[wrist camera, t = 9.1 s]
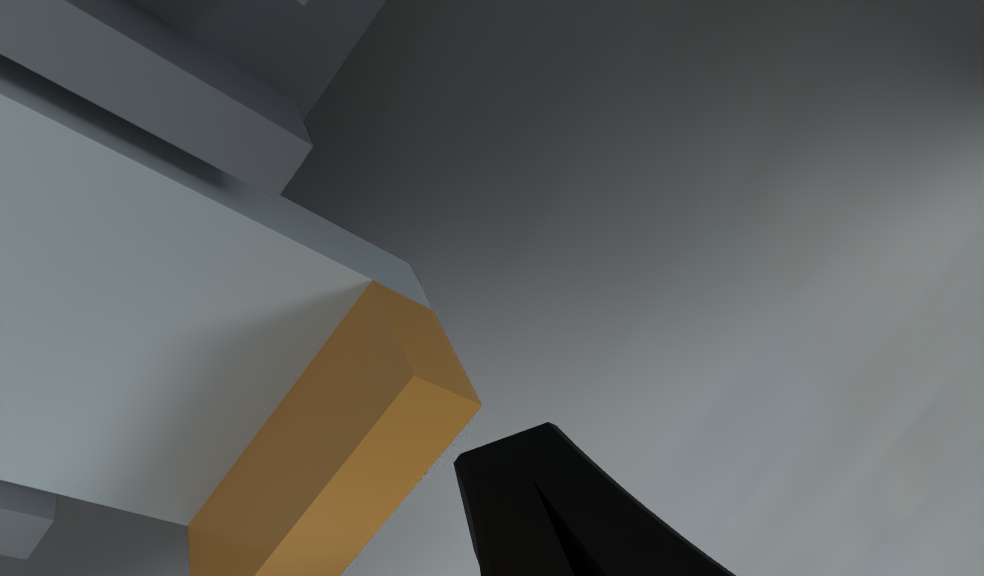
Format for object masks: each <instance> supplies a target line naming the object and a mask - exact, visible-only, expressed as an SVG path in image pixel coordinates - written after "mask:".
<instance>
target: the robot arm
mask: <svg viewBox="0 0 984 576" xmlns="http://www.w3.org/2000/svg"><path fill="white" fill-rule="evenodd" d="M454 467H455V472H456V476H457V480H458V484H459V488H460V493H461V497H462V501H463V505H464V510H465V514H466V518H467V522H468V527H469V531H470V535H471V539H472V543H473V548H474V551H475V554H476V557H477V560H478V563H479V565H480V572H481V576H736V575H734V574H733V573H732V572H730V571H729V570H727V569H726V568H725V567H723V566H722V565H720V564H719V563H718V562H716V561H715V560H713V559H712V558H711V557H709V556H708V555H706V554H705V553H704V552H702V551H701V550H700V549H698V548H697V547H696V546H694V545H693V544H692V543H690V542H689V541H688V540H687V539H685V538H684V537H683V536H681V535H680V534H679V533H678V532H676V531H675V530H674V529H673V528H671V527H670V526H669V525H668V524H666V523H665V522H664V521H663V520H661V519H660V518H659V517H658V516H656V515H655V514H654V513H653V512H651V511H650V510H649V509H648V508H646V507H645V506H644V505H643V504H641V503H640V502H639V501H638V500H637V499H635V498H634V497H633V496H632V495H631V494H629V493H628V492H627V491H626V490H625V489H624V488H622V487H621V486H620V485H619V484H618V483H617V482H616V481H615V480H613V479H612V478H611V477H610V476H609V475H608V474H607V473H605V472H604V471H603V470H602V469H601V468H600V467H599V466H598V465H597V464H596V463H594V462H593V461H592V460H591V459H590V458H589V457H588V456H587V455H586V454H585V453H584V452H583V451H582V450H580V449H579V448H578V447H577V446H576V445H575V444H574V443H573V442H572V441H571V440H570V439H569V438H568V437H567V436H566V435H565V434H564V433H563V432H562V431H561V430H560V429H559V428H558V427H557V426H556V425H554V424H552V423H549V422H547V423H544V424H542V425H539V426H536V427H533V428H530V429H528V430H525V431H522V432H519V433H517V434H514V435H511V436H508V437H506V438H503V439H500V440H497V441H495V442H492V443H489V444H486V445H484V446H481V447H478V448H475V449H472V450H470V451H467V452H464V453H461V454H460V455H459V456H458V458H457V459H456V460H455V462H454Z"/></svg>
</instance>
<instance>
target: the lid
mask: <svg viewBox="0 0 984 576" xmlns="http://www.w3.org/2000/svg"><path fill="white" fill-rule="evenodd" d="M481 406H482V404H481V402H480V400H479V398H478V396H477V394H476V392H475V390H474V388H473V386H472V385H471V383H470V381H469V379H468V377H467V375H466V373H465V371H464V369H463V367H462V365H461V363H460V361H459V359H458V357H457V355H456V354H455V352H454V350H453V348H452V346H451V344H450V342H449V340H448V338H447V336H446V334H445V332H444V330H443V328H442V326H441V324H440V323H439V321H438V319H437V317H436V315H435V313H434V311H433V309H432V307H431V305H430V303H429V301H428V299H427V297H426V295H425V294H424V292H423V290H422V288H421V286H420V284H419V282H418V280H417V278H416V276H415V274H414V272H413V270H412V268H411V266H410V264H409V263H407V262H405V261H403V260H401V259H399V258H398V257H396V256H394V255H392V254H390V253H388V252H386V251H384V250H383V249H381V248H379V247H377V246H375V245H373V244H371V243H369V242H367V241H366V240H364V239H362V238H360V237H358V236H356V235H354V234H352V233H351V232H349V231H347V230H345V229H343V228H341V227H339V226H337V225H335V224H334V223H332V222H330V221H328V220H326V219H324V218H322V217H320V216H319V215H317V214H315V213H313V212H311V211H309V210H307V209H305V208H303V207H302V206H300V205H298V204H296V203H294V202H292V201H290V200H288V199H287V198H285V197H283V196H281V195H280V196H279V197H278V199H275V198H273V197H271V196H269V195H267V194H266V193H264V192H262V191H260V190H258V189H256V188H254V187H252V186H250V185H248V184H247V183H245V182H243V181H241V180H239V179H237V178H235V177H233V176H231V175H229V174H228V173H226V172H224V171H222V170H220V169H218V168H216V167H214V166H212V165H210V164H209V163H207V162H205V161H203V160H201V159H199V158H197V157H195V156H193V155H191V154H190V153H188V152H186V151H184V150H182V149H180V148H178V147H176V146H174V145H172V144H171V143H169V142H167V141H165V140H163V139H161V138H159V137H157V136H155V135H153V134H152V133H150V132H148V131H146V130H144V129H142V128H140V127H138V126H136V125H134V124H133V123H131V122H129V121H127V120H125V119H123V118H121V117H119V116H117V115H115V114H114V113H112V112H110V111H108V110H106V109H104V108H102V107H100V106H98V105H96V104H95V103H93V102H91V101H89V100H87V99H85V98H83V97H81V96H79V95H77V94H76V93H74V92H72V91H70V90H68V89H66V88H64V87H62V86H60V85H58V84H57V83H55V82H53V81H51V80H49V79H47V78H45V77H43V76H41V75H39V74H38V73H36V72H34V71H32V70H30V69H28V68H26V67H24V66H22V65H20V64H19V63H17V62H15V61H13V60H11V59H9V58H7V57H5V56H3V55H1V54H0V480H4V481H8V482H12V483H16V484H20V485H24V486H28V487H32V488H36V489H40V490H44V491H48V492H52V493H56V494H60V495H64V496H68V497H72V498H76V499H80V500H84V501H88V502H92V503H96V504H100V505H104V506H108V507H112V508H116V509H120V510H124V511H128V512H132V513H136V514H141V515H145V516H149V517H153V518H157V519H161V520H165V521H169V522H173V523H177V524H181V525H185V526H187V528H188V545H189V562H190V576H340V575H341V574H342V573H343V572H344V570H345V569H346V568H347V567H348V566H349V564H350V563H351V562H352V561H353V560H354V558H355V557H356V556H357V555H358V554H359V552H360V551H361V550H362V549H363V548H364V546H365V545H366V544H367V543H368V542H369V540H370V539H371V538H372V537H373V536H374V534H375V533H376V532H377V531H378V530H379V528H380V527H381V526H382V525H383V524H384V522H385V521H386V520H387V519H388V518H389V516H390V515H391V514H392V513H393V512H394V510H395V509H396V508H397V507H398V506H399V504H400V503H401V502H402V501H403V500H404V498H405V497H406V496H407V495H408V494H409V492H410V491H411V490H412V489H413V488H414V486H415V485H416V484H417V483H418V482H419V480H420V479H421V478H422V477H423V476H424V474H425V473H426V472H427V471H428V470H429V468H430V467H431V466H432V465H433V464H434V462H435V461H436V460H437V459H438V458H439V457H440V455H441V454H442V453H443V452H444V451H445V449H446V448H447V447H448V446H449V445H450V443H451V442H452V441H453V440H454V439H455V437H456V436H457V435H458V434H459V433H460V431H461V430H462V429H463V428H464V427H465V425H466V424H467V423H468V422H469V421H470V419H471V418H472V417H473V416H474V415H475V413H476V412H477V411H478V410H479V409H480V407H481Z"/></svg>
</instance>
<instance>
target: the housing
mask: <svg viewBox="0 0 984 576" xmlns="http://www.w3.org/2000/svg"><path fill="white" fill-rule="evenodd" d="M385 2H386V0H0V54H1V55H3V56H5V57H7V58H9V59H11V60H13V61H15V62H17V63H19V64H20V65H22V66H24V67H26V68H28V69H30V70H32V71H34V72H36V73H38V74H39V75H41V76H43V77H45V78H47V79H49V80H51V81H53V82H55V83H57V84H58V85H60V86H62V87H64V88H66V89H68V90H70V91H72V92H74V93H76V94H77V95H79V96H81V97H83V98H85V99H87V100H89V101H91V102H93V103H95V104H96V105H98V106H100V107H102V108H104V109H106V110H108V111H110V112H112V113H114V114H115V115H117V116H119V117H121V118H123V119H125V120H127V121H129V122H131V123H133V124H134V125H136V126H138V127H140V128H142V129H144V130H146V131H148V132H150V133H152V134H153V135H155V136H157V137H159V138H161V139H163V140H165V141H167V142H169V143H171V144H172V145H174V146H176V147H178V148H180V149H182V150H184V151H186V152H188V153H190V154H191V155H193V156H195V157H197V158H199V159H201V160H203V161H205V162H207V163H209V164H210V165H212V166H214V167H216V168H218V169H220V170H222V171H224V172H226V173H228V174H229V175H231V176H233V177H235V178H237V179H239V180H241V181H243V182H245V183H247V184H248V185H250V186H252V187H254V188H256V189H258V190H260V191H262V192H264V193H266V194H267V195H269V196H271V197H273V198H275V199H278V197H279V196H280V194H281V193H282V191H283V190H284V188H285V187H286V186H287V184H288V183H289V181H290V180H291V178H292V177H293V175H294V174H295V173H296V171H297V170H298V168H299V167H300V165H301V164H302V162H303V161H304V160H305V158H306V157H307V155H308V154H309V152H310V151H311V149H312V148H313V147H314V146H313V143H312V141H311V139H310V136H309V134H308V132H307V129H306V127H305V125H304V120H305V119H306V117H307V116H308V114H309V113H310V111H311V110H312V109H313V107H314V106H315V104H316V103H317V101H318V100H319V98H320V97H321V95H322V94H323V92H324V91H325V90H326V88H327V87H328V85H329V84H330V82H331V81H332V79H333V78H334V76H335V75H336V73H337V72H338V70H339V69H340V68H341V66H342V65H343V63H344V62H345V60H346V59H347V57H348V56H349V54H350V53H351V51H352V50H353V49H354V47H355V46H356V44H357V43H358V41H359V40H360V38H361V37H362V35H363V34H364V32H365V31H366V29H367V28H368V27H369V25H370V24H371V22H372V21H373V19H374V18H375V16H376V15H377V13H378V12H379V10H380V9H381V8H382V6H383V5H384V3H385ZM56 501H57V494H56V493H52V492H48V491H44V490H40V489H36V488H32V487H28V486H24V485H20V484H16V483H12V482H8V481H4V480H0V555H3V556H8V557H13V558H18V559H23V560H27V559H28V558H29V556H30V555H31V553H32V552H33V551H34V549H35V548H36V546H37V545H38V543H39V542H40V540H41V539H42V538H43V536H44V535H45V533H46V532H47V530H48V529H49V527H50V526H51V525H52V523H53V522H54V519H55V510H56Z"/></svg>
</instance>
